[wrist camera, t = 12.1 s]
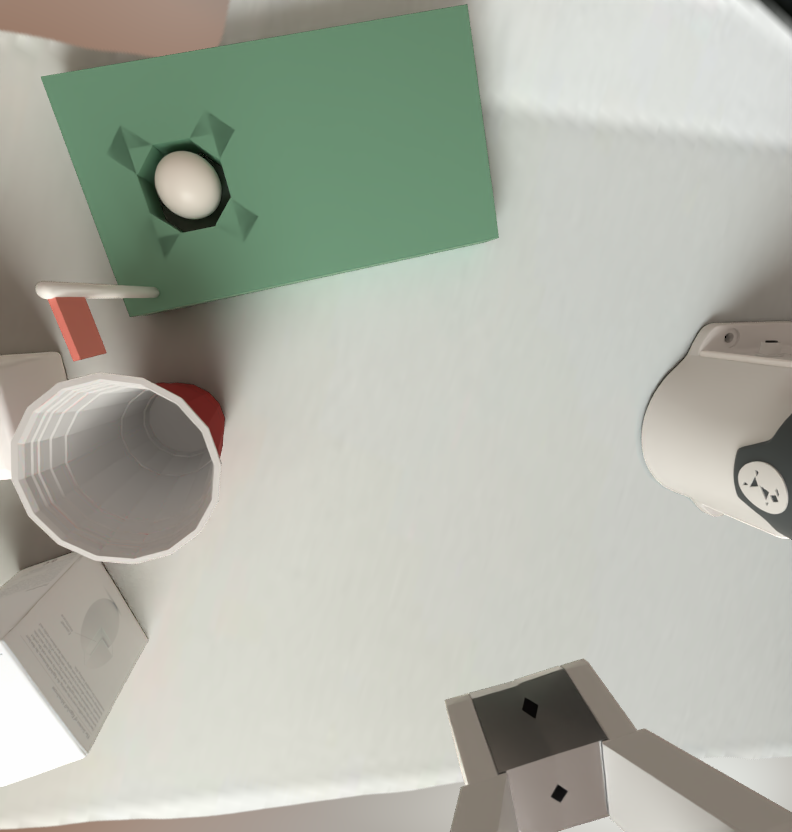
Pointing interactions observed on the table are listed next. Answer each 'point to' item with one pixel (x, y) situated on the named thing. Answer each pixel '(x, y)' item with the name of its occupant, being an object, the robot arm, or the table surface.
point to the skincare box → (60, 662)
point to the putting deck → (278, 161)
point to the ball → (188, 185)
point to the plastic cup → (119, 465)
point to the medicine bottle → (23, 393)
